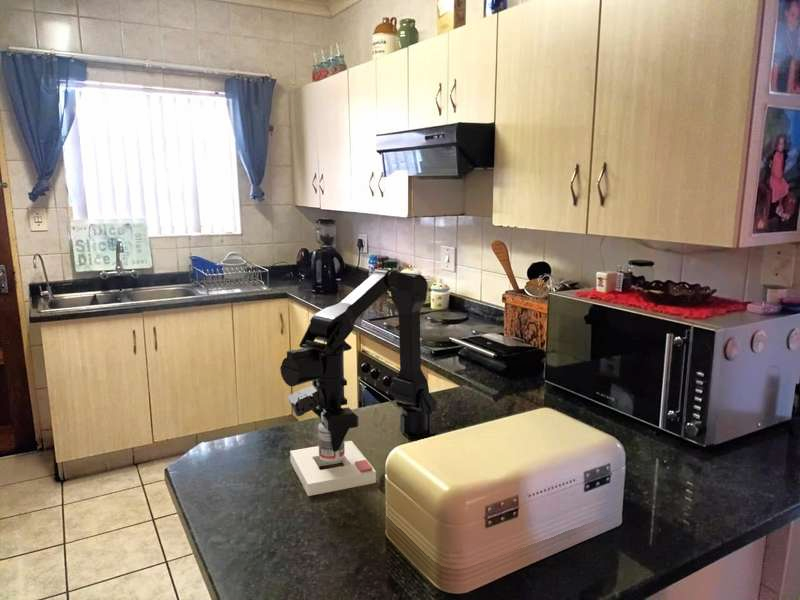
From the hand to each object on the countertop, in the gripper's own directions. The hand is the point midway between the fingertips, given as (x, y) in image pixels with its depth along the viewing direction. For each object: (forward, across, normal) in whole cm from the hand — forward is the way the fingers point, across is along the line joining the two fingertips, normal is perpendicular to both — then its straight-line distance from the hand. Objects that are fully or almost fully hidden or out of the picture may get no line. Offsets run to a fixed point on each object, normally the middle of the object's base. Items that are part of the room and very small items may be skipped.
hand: (331, 445), depth 122 cm
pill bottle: (+3, 0, 0) cm, 3 cm away
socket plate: (+6, 0, 0) cm, 6 cm away
